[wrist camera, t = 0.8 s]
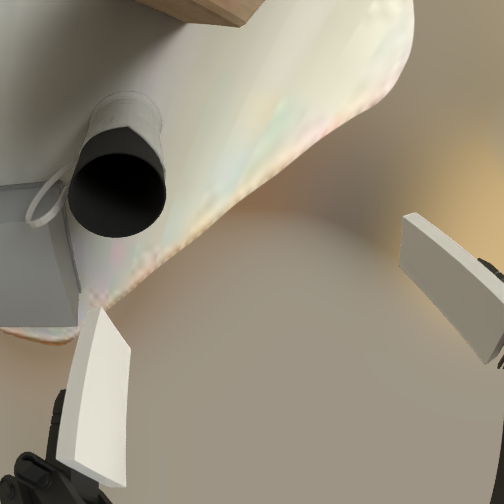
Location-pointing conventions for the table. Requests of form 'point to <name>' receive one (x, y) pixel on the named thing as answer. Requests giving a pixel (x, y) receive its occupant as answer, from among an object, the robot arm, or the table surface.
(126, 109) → the glass holder
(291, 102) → the table surface
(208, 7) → the wooden block
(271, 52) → the table surface
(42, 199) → the large grey square box
